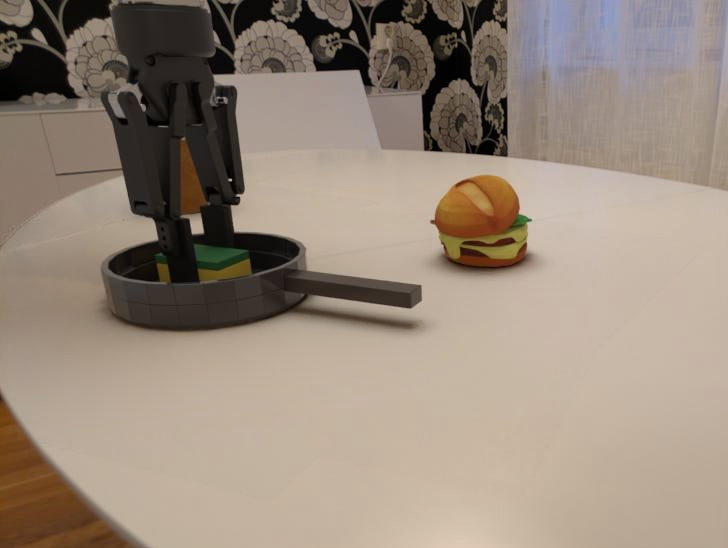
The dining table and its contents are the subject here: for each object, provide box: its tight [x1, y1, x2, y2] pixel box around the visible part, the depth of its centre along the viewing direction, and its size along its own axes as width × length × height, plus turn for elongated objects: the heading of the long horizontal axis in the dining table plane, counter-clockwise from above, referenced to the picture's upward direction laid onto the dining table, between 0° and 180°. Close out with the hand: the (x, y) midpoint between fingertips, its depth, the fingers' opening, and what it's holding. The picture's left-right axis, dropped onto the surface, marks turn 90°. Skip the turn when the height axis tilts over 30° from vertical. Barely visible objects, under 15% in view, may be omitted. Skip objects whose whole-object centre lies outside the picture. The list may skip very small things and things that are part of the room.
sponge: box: [155, 244, 252, 283], centre depth 64 cm, size 7×4×3 cm, turn 70°
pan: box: [99, 231, 310, 331], centre depth 61 cm, size 17×17×4 cm
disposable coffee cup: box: [159, 126, 210, 215], centre depth 93 cm, size 10×10×12 cm
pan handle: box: [283, 270, 423, 310], centre depth 57 cm, size 12×2×1 cm, turn 70°
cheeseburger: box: [429, 174, 533, 268], centre depth 73 cm, size 10×11×10 cm
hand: (205, 279), depth 64 cm, fingers closed on sponge, 4 cm apart
